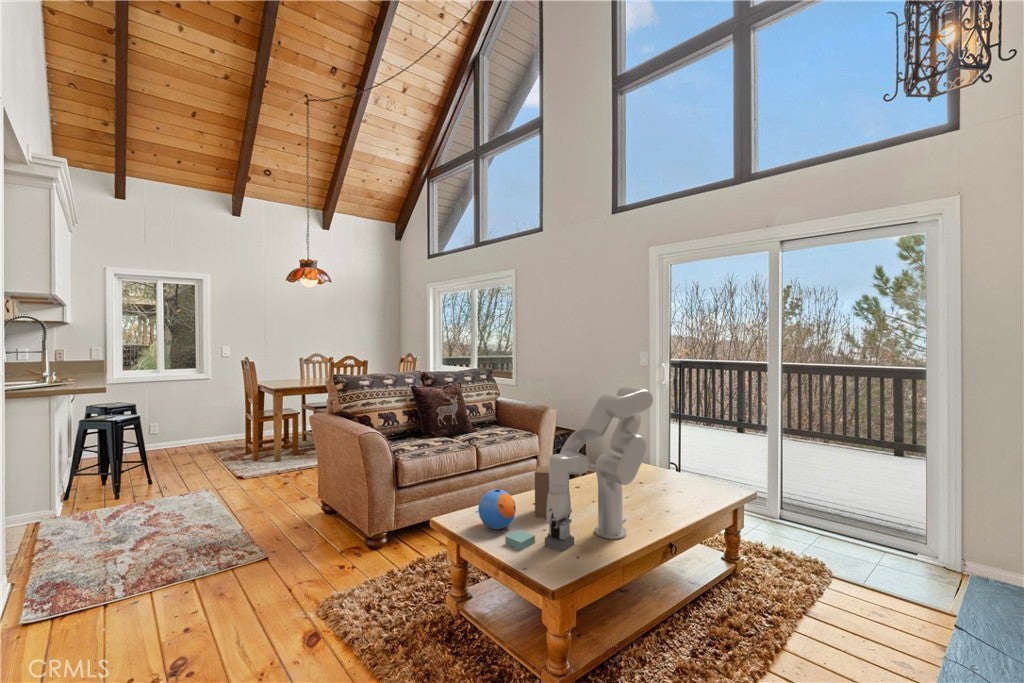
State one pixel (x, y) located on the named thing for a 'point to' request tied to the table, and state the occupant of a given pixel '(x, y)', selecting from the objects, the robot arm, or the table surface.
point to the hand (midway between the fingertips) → (559, 534)
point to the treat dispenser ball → (497, 509)
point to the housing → (562, 529)
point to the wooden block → (541, 490)
